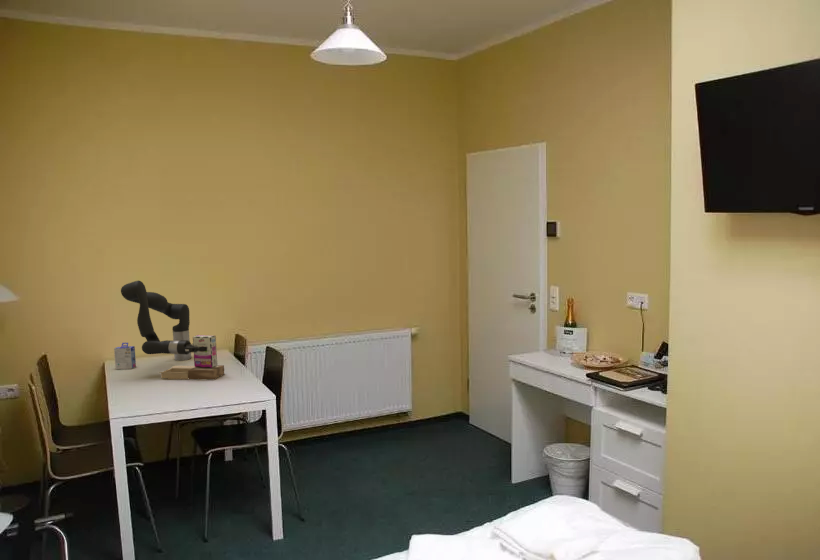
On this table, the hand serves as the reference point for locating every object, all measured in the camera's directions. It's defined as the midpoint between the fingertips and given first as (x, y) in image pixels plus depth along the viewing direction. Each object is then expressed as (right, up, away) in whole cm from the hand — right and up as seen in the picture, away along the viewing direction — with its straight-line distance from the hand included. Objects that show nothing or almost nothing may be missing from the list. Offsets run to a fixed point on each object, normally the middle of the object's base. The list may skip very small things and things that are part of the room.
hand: (209, 347), depth 341 cm
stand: (-2, -16, +2) cm, 16 cm away
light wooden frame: (-17, -16, +5) cm, 24 cm away
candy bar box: (-2, -10, +2) cm, 11 cm away
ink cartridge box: (-56, -15, +28) cm, 64 cm away
